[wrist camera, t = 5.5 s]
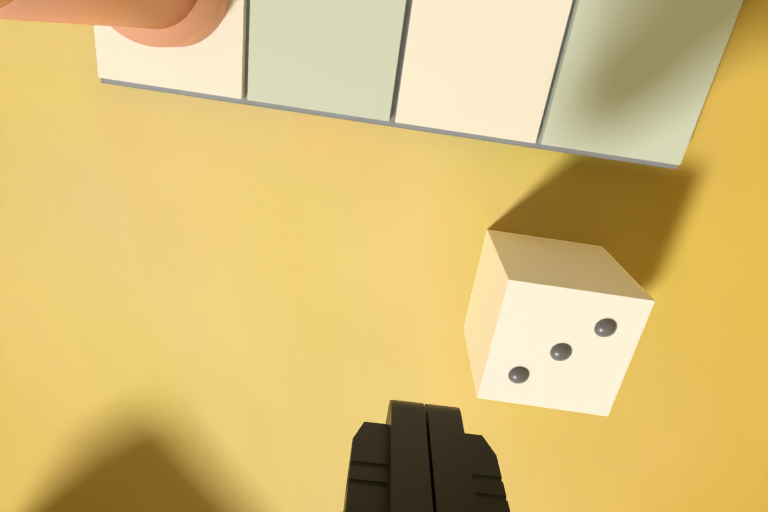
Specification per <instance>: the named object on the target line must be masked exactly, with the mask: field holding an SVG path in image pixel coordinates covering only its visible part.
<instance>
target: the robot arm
mask: <svg viewBox="0 0 768 512" xmlns="http://www.w3.org/2000/svg"><path fill="white" fill-rule="evenodd" d="M501 478H502V477H501V473H500V469H499V465H498V461H497V457H496V454H495V453H494V452H493V450H492V449H491V447H490V446H489V445H488V443H487V442H486V440H485V439H484V438H483V436H482V435H474V434H466V433H464V428H463V423H462V417H461V412H460V409H459V408H457V407H448V406H439V405H431V404H425V406H424V404H423V403H415V402H406V401H397V400H390V403H389V408H388V414H387V420H386V424H379V423H371V422H364V423H363V425H362V426H361V428H360V429H359V430H358V432H357V433H356V435H355V436H354V438H353V441H352V448H351V455H350V463H349V470H348V477H347V485H346V493H345V502H344V511H343V512H510V509H509V505H508V501H506V493H505V489H504V485H503V482H502V481H501Z"/></svg>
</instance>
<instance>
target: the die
mask: <svg viewBox="0 0 768 512" xmlns="http://www.w3.org/2000/svg"><path fill="white" fill-rule="evenodd" d="M654 302H655V301H654V299H653V298H652V297H651V296H650V295H649V294H648V293H647V292H646V291H645V290H644V289H643V288H642V287H641V286H640V285H639V284H638V283H637V282H636V281H635V280H634V279H633V278H632V277H631V276H630V275H629V274H628V273H627V271H626V270H625V269H624V268H623V267H622V266H621V265H620V264H619V263H618V262H617V261H616V260H615V259H614V258H613V257H612V256H611V255H610V254H609V253H608V252H607V251H606V250H605V249H604V248H603V247H602V246H598V245H591V244H584V243H578V242H571V241H564V240H557V239H550V238H543V237H536V236H530V235H523V234H516V233H509V232H502V231H495V230H489V229H487V232H486V236H485V240H484V244H483V249H482V253H481V257H480V261H479V265H478V270H477V274H476V278H475V282H474V286H473V291H472V295H471V299H470V303H469V308H468V312H467V316H466V320H465V324H464V334H465V339H466V344H467V349H468V354H469V359H470V364H471V370H472V375H473V380H474V385H475V390H476V395H477V398H482V399H489V400H496V401H503V402H510V403H517V404H524V405H531V406H538V407H546V408H553V409H560V410H567V411H574V412H581V413H588V414H595V415H602V416H608V414H609V412H610V410H611V407H612V405H613V402H614V400H615V397H616V395H617V392H618V390H619V388H620V385H621V383H622V380H623V378H624V375H625V373H626V370H627V368H628V366H629V363H630V361H631V358H632V356H633V353H634V351H635V348H636V346H637V344H638V341H639V339H640V336H641V334H642V331H643V329H644V326H645V324H646V322H647V319H648V317H649V314H650V312H651V309H652V307H653V305H654Z"/></svg>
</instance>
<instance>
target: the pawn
mask: <svg viewBox="0 0 768 512" xmlns="http://www.w3.org/2000/svg"><path fill="white" fill-rule="evenodd" d="M228 5H229V0H0V19H5V20H21V21H37V22H53V23H68V24H84V25H100V26H111V27H112V28H113V29H114V30H115V31H117V32H118V33H120V34H121V35H123V36H124V37H126V38H128V39H130V40H132V41H134V42H136V43H139V44H142V45H146V46H150V47H185V46H190V45H194V44H196V43H199V42H201V41H202V40H204V39H206V38H207V37H208V36H210V35H211V34H212V33H213V32H214V31H215V30H216V29H217V28H218V26H219V25H220V23H221V22H222V20H223V18H224V16H225V14H226V11H227V8H228Z"/></svg>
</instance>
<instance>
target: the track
mask: <svg viewBox="0 0 768 512" xmlns="http://www.w3.org/2000/svg"><path fill="white" fill-rule="evenodd" d="M743 1H744V0H229V5H228V8H227V11H226V14H225V16H224V18H223V20H222V22H221V23H220V25H219V26H218V28H217V29H216V30H215V31H214V32H213V33H212V34H211V35H210V36H208V37H207V38H206V39H204V40H202V41H201V42H199V43H196V44H194V45H190V46H185V47H150V46H146V45H142V44H139V43H136V42H134V41H132V40H130V39H128V38H126V37H124V36H123V35H121V34H120V33H118V32H117V31H115V30H114V29H113V28H112V27H111V26H100V25H94V34H95V45H96V57H97V68H98V78H101V83H106V84H112V85H119V86H126V87H132V88H139V89H146V90H152V91H159V92H166V93H172V94H179V95H185V96H192V97H199V98H205V99H212V100H219V101H225V102H232V103H238V104H245V105H252V106H258V107H265V108H272V109H278V110H285V111H292V112H298V113H305V114H311V115H318V116H325V117H331V118H338V119H345V120H351V121H358V122H364V123H371V124H378V125H384V126H391V127H398V128H404V129H411V130H418V131H424V132H431V133H437V134H444V135H451V136H457V137H464V138H471V139H477V140H484V141H490V142H497V143H504V144H510V145H517V146H524V147H530V148H537V149H544V150H550V151H557V152H563V153H570V154H577V155H583V156H590V157H597V158H603V159H610V160H616V161H623V162H630V163H636V164H643V165H650V166H656V167H663V168H670V169H677V166H678V165H680V164H681V162H682V159H683V156H684V154H685V151H686V149H687V146H688V143H689V141H690V138H691V136H692V133H693V131H694V128H695V125H696V123H697V120H698V118H699V115H700V112H701V110H702V107H703V105H704V102H705V99H706V97H707V94H708V92H709V89H710V86H711V84H712V81H713V79H714V76H715V73H716V71H717V68H718V66H719V63H720V61H721V58H722V55H723V53H724V50H725V48H726V45H727V42H728V40H729V37H730V35H731V32H732V29H733V27H734V24H735V22H736V19H737V16H738V14H739V11H740V9H741V6H742V4H743Z"/></svg>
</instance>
